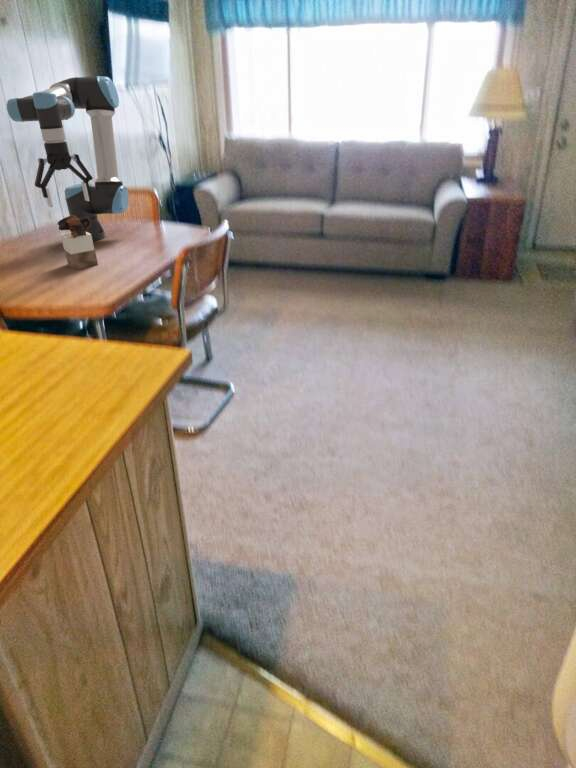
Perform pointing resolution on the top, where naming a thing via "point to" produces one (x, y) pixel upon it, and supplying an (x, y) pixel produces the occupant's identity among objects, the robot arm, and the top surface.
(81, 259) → the tower base block
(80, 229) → the pottery mug
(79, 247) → the tower top block
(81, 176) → the robot arm
